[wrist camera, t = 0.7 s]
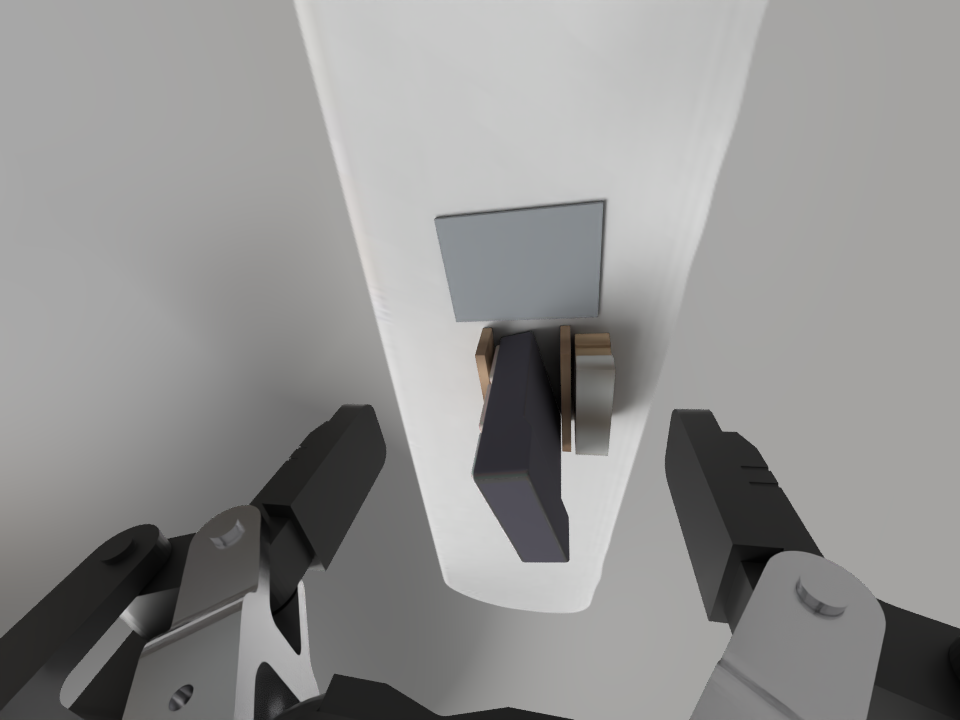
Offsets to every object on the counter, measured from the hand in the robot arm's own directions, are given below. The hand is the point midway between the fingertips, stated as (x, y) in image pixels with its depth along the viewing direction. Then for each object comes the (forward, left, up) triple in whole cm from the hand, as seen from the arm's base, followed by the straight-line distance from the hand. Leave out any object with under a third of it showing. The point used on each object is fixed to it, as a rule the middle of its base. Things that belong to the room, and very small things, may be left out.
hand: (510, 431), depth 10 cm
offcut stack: (+16, +4, -21) cm, 27 cm away
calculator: (+16, -2, -21) cm, 27 cm away
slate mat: (+5, -2, -21) cm, 22 cm away
